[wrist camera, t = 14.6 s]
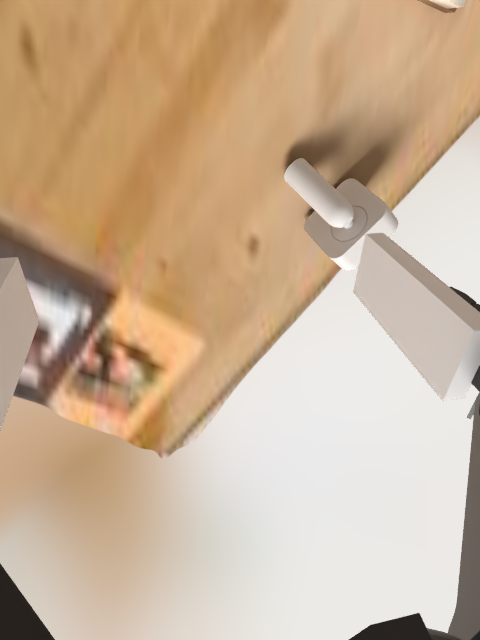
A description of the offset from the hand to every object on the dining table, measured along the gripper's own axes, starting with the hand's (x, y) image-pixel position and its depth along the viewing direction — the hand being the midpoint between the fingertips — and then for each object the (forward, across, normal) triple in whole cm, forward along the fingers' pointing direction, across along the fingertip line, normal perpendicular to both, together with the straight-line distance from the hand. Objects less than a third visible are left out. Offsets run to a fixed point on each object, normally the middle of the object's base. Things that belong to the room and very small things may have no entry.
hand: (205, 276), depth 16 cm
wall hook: (+32, +18, -8) cm, 37 cm away
